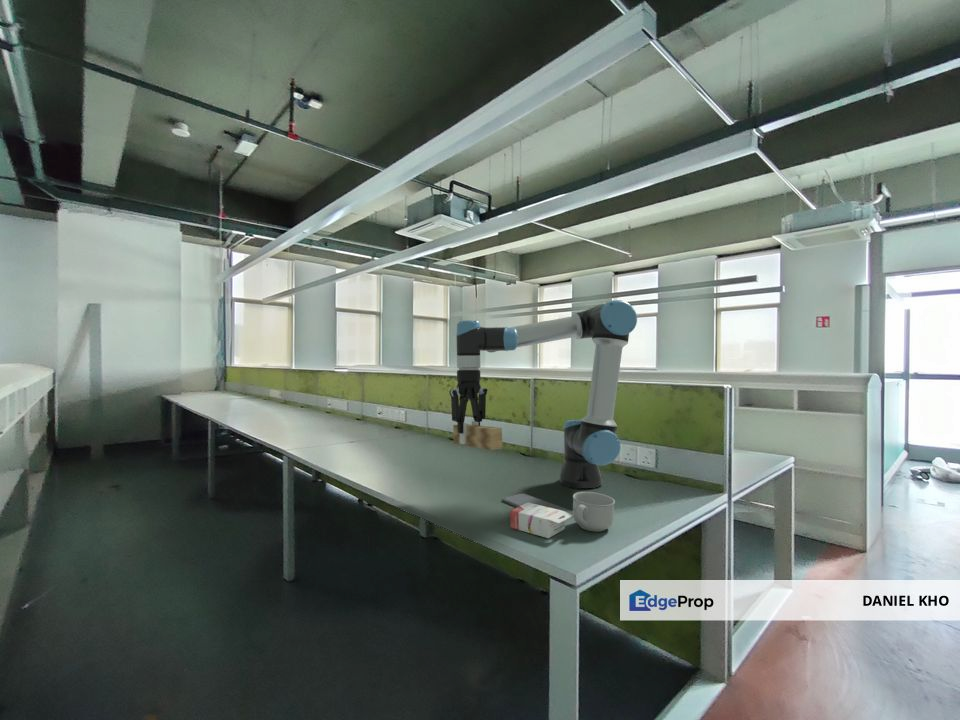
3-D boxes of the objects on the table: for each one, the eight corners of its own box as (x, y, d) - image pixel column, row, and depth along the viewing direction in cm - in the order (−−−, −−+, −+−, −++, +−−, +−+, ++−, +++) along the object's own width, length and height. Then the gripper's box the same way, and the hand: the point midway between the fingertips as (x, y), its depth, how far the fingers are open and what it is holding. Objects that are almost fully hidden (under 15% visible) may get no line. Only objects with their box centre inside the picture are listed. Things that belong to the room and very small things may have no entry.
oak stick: (453, 443, 137) (453, 424, 137) (463, 441, 139) (463, 423, 140) (491, 450, 121) (491, 429, 121) (502, 448, 123) (501, 427, 124)
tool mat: (522, 495, 138) (522, 493, 138) (574, 514, 121) (574, 511, 121) (501, 500, 133) (501, 498, 133) (552, 521, 115) (552, 518, 115)
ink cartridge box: (509, 528, 111) (558, 542, 101) (509, 509, 111) (557, 522, 101) (528, 519, 117) (575, 532, 108) (528, 501, 118) (575, 512, 108)
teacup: (588, 517, 119) (588, 488, 119) (623, 528, 110) (623, 498, 111) (556, 529, 110) (556, 498, 110) (591, 543, 102) (591, 509, 102)
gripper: (482, 368, 142) (483, 438, 142) (439, 369, 132) (440, 444, 132) (496, 369, 136) (497, 441, 136) (452, 369, 126) (452, 447, 125)
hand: (469, 442), depth 134 cm, fingers closed on oak stick, 4 cm apart
